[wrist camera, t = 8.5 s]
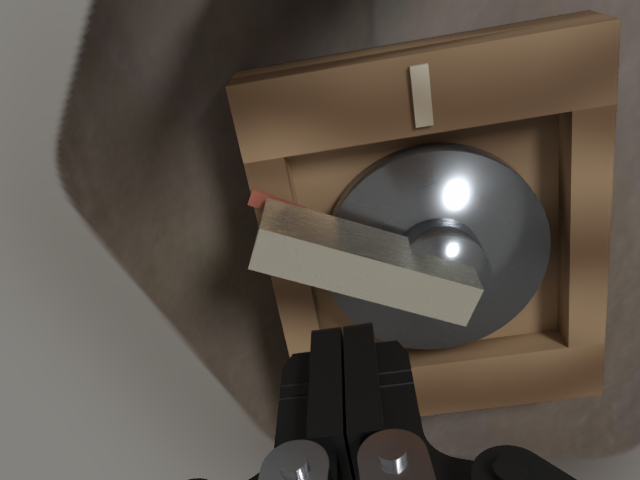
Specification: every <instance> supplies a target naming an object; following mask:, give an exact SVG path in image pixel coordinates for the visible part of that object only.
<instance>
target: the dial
mask: <svg viewBox="0 0 640 480" xmlns="http://www.w3.org/2000/svg"><path fill="white" fill-rule="evenodd" d="M550 250H551V236H550V229H549V223H548V220H547V217H546V214H545V210H544V208H543V206H542V204H541V202H540V201H539V199H538V197H537V196H536V194H535V193H534V192H533V190H532V189H531V187H530V186H529V185H528V184H527V182H526V181H525V180H524V179H523V177H522V176H521V175H520V174H519V173H518V172H517V171H516V170H515V169H514V168H513V167H511V166H510V165H509V164H507V163H506V162H505V161H503V160H502V159H500V158H499V157H497V156H495V155H493V154H491V153H489V152H487V151H484V150H482V149H479V148H476V147H473V146H468V145H464V144H458V143H447V142H440V143H426V144H420V145H414V146H410V147H407V148H403V149H400V150H398V151H395V152H393V153H391V154H388V155H386V156H384V157H382V158H381V159H379V160H377V161H375V162H374V163H372V164H371V165H370V166H368V167H367V168H366V169H364V170H363V171H362V172H360V173H359V174H358V175H357V176H356V177H355V178H354V179H353V180H352V181H351V182H350V184H349V185H348V186H347V187H346V189H345V190H344V191H343V192H342V194H341V195H340V197H339V199H338V201H337V202H336V204H335V206H334V208H333V211H332V213H331V215H327V214H324V213H320V212H317V211H313V210H310V209H306V208H302V207H299V206H295V205H292V204H288V203H284V202H281V201H277V200H274V199H270V198H267V199H266V202H265V206H264V210H263V213H262V217H261V220H260V224H259V227H258V231H257V234H256V239H255V243H254V247H253V251H252V255H251V259H250V263H249V267H248V269H249V270H253V271H257V272H261V273H264V274H268V275H272V276H276V277H280V278H283V279H287V280H291V281H295V282H298V283H302V284H306V285H310V286H314V287H317V288H321V289H325V290H329V291H331V292H332V294H333V296H334V298H335V300H336V301H337V303H338V305H339V306H340V307H341V309H342V310H343V312H344V313H345V314H346V315H347V316H348V317H349V318H350V319H351V320H352V321H353V322H354V323H355V324H363V323H371V322H373V327H374V333H375V337H376V338H378V339H380V340H383V341H385V342H387V341H395V340H397V341H398V342H399V343H400V344H401V345H402V346H403V347H406V348H411V349H423V350H432V349H445V348H452V347H457V346H461V345H465V344H468V343H471V342H474V341H477V340H479V339H481V338H484V337H486V336H488V335H490V334H492V333H493V332H495V331H497V330H498V329H500V328H502V327H503V326H505V325H506V324H507V323H508V322H510V321H511V320H512V319H514V318H515V317H516V316H517V315H518V314H519V313H520V312H521V311H522V310H523V309H524V308H525V306H526V305H527V304H528V303H529V302H530V300H531V299H532V298H533V296H534V295H535V293H536V291H537V290H538V288H539V286H540V284H541V282H542V280H543V278H544V275H545V272H546V269H547V266H548V262H549V256H550Z"/></svg>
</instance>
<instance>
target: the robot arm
mask: <svg viewBox="0 0 640 480" xmlns="http://www.w3.org/2000/svg"><path fill="white" fill-rule="evenodd" d="M190 480H207V479H201V478H198V479H190ZM249 480H576V479H575V478H573V477H572V476H570V475H568V474H567V473H565V472H563V471H562V470H560V469H558V468H557V467H555V466H554V465H552V464H551V463H549V462H547V461H546V460H544V459H543V458H541V457H539V456H538V455H536V454H535V453H533V452H531V451H529V450H527V449H524V448H521V447H517V446H510V445H501V446H495V447H492V448H489V449H487V450H485V451H483V452H482V453H480V454H479V455H478V456H477V457H476V459H475V460H474V461H471V460H465V459H459V458H454V457H451V456H448V455H445V454H443V453H441V452H439V451H438V450H436V449H435V448H434V447H433V446H431V445H430V443H429V442H428V441H427V440H426V438H425V436H424V433H423V429H422V423H421V418H420V413H419V407H418V402H417V397H416V391H415V386H414V380H413V375H412V370H411V364H410V359H409V354H408V352H407V351H406V350H405V348H404V347H403V346H402V345H401V344H400V343H399V342H398V341H397V340H395V341H387V342H379V343H376V340H375V333H374V327H373V322H371V323H363V324H356V325H348V326H343V331H342V328H341V327H334V328H326V329H319V330H312V331H311V347H310V352H303V353H295V354H292V356H291V357H290V359H289V360H288V362H287V363H286V365H285V366H284V368H283V371H282V381H281V390H280V401H279V408H278V417H277V427H276V436H275V445H274V449H273V450H272V451H271V452H270V453H269V454H268V455H267V456H266V457H265V459H264V461H263V463H262V465H261V469H260V472H259V473H258V474H257V475H255V476H254V477H252V478H251V479H249Z"/></svg>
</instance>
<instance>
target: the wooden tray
mask: <svg viewBox="0 0 640 480" xmlns="http://www.w3.org/2000/svg"><path fill="white" fill-rule="evenodd" d="M620 28H621V19H620V18H616V17H612V16H609V15H605V14H602V13H598V12H594V11H591V10H588V11H582V12H576V13H570V14H565V15H559V16H553V17H547V18H541V19H536V20H530V21H524V22H518V23H513V24H507V25H501V26H495V27H490V28H484V29H478V30H472V31H467V32H461V33H455V34H449V35H443V36H438V37H432V38H426V39H420V40H415V41H409V42H403V43H397V44H392V45H386V46H380V47H374V48H369V49H363V50H357V51H351V52H345V53H340V54H334V55H328V56H322V57H317V58H311V59H305V60H299V61H294V62H288V63H282V64H276V65H270V66H265V67H259V68H253V69H247V70H242V71H236V72H235V73H234V75H233V76H232V78H231V79H230V80H229V82H228V83H227V85H226V86H225V88H226V93H227V97H228V101H229V105H230V109H231V114H232V118H233V122H234V126H235V130H236V134H237V139H238V143H239V147H240V151H241V155H242V160H243V164H244V168H245V172H246V176H247V180H248V185H249V189H250V193H251V195H250V198H249V201H248V204H247V205H249V206H252V207H254V210H255V214H256V218H257V222H258V227H259V224H260V220H261V217H262V213H263V210H264V206H265V202H266V199H267V198H270V199H274V200H277V201H281V202H284V203H288V204H292V205H295V206H299V207H302V208H306V209H310V210H313V211H317V212H320V213H324V214H327V215H331V213H332V211H333V208H334V206H335V204H336V202H337V201H338V199H339V197H340V195H341V194H342V192H343V191H344V190H345V189H346V187H347V186H348V185H349V184H350V182H351V181H352V180H353V179H354V178H355V177H356V176H357V175H358V174H359V173H360V172H362V171H363V170H364V169H366V168H367V167H368V166H370V165H371V164H372V163H374V162H375V161H377V160H379V159H381V158H382V157H384V156H386V155H388V154H391V153H393V152H395V151H398V150H400V149H403V148H407V147H410V146H414V145H420V144H426V143H440V142H447V143H458V144H464V145H468V146H473V147H476V148H479V149H482V150H484V151H487V152H489V153H491V154H493V155H495V156H497V157H499V158H500V159H502V160H503V161H505V162H506V163H507V164H509V165H510V166H511V167H513V168H514V169H515V170H516V171H517V172H518V173H519V174H520V175H521V176H522V177H523V179H524V180H525V181H526V182H527V184H528V185H529V186H530V187H531V189H532V190H533V192H534V193H535V194H536V196H537V197H538V199H539V201H540V202H541V204H542V206H543V208H544V210H545V214H546V217H547V220H548V223H549V229H550V236H551V250H550V256H549V262H548V266H547V269H546V272H545V275H544V278H543V280H542V282H541V284H540V286H539V288H538V290H537V291H536V293H535V295H534V296H533V298H532V299H531V300H530V302H529V303H528V304H527V305H526V306H525V308H524V309H523V310H522V311H521V312H520V313H519V314H518V315H517V316H516V317H515V318H514V319H512V320H511V321H510V322H508V323H507V324H506V325H505V326H503V327H502V328H500V329H498V330H497V331H495V332H493V333H492V334H490V335H488V336H486V337H484V338H481V339H479V340H477V341H474V342H471V343H468V344H465V345H461V346H457V347H452V348H445V349H432V350H423V349H411V348H406V347H404V348H405V350H406V351H407V352H408V354H409V359H410V364H411V370H412V375H413V380H414V386H415V391H416V397H417V402H418V407H419V413H420V416H429V415H437V414H445V413H454V412H462V411H471V410H479V409H488V408H496V407H504V406H513V405H521V404H530V403H538V402H547V401H555V400H563V399H572V398H580V397H589V396H597V395H602V393H603V373H604V352H605V332H606V312H607V291H608V271H609V251H610V231H611V210H612V190H613V170H614V149H615V129H616V109H617V89H618V68H619V48H620ZM270 277H271V281H272V285H273V289H274V294H275V298H276V302H277V306H278V310H279V314H280V319H281V323H282V327H283V331H284V335H285V340H286V344H287V348H288V352H289V356H290V357H291V356H292V354H295V353H303V352H310V347H311V331H312V330H319V329H326V328H334V327H341V328H342V331H343V326H348V325H356V324H355V323H354V322H353V321H352V320H351V319H350V318H349V317H348V316H347V315H346V314H345V313H344V312H343V310H342V309H341V307H340V306H339V305H338V303H337V301H336V300H335V298H334V296H333V294H332V292H331V291H329V290H325V289H321V288H317V287H314V286H310V285H306V284H302V283H298V282H295V281H291V280H287V279H283V278H280V277H276V276H272V275H270ZM375 340H376V343H379V342H385V341H383V340H380V339H378V338H376V337H375Z"/></svg>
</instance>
